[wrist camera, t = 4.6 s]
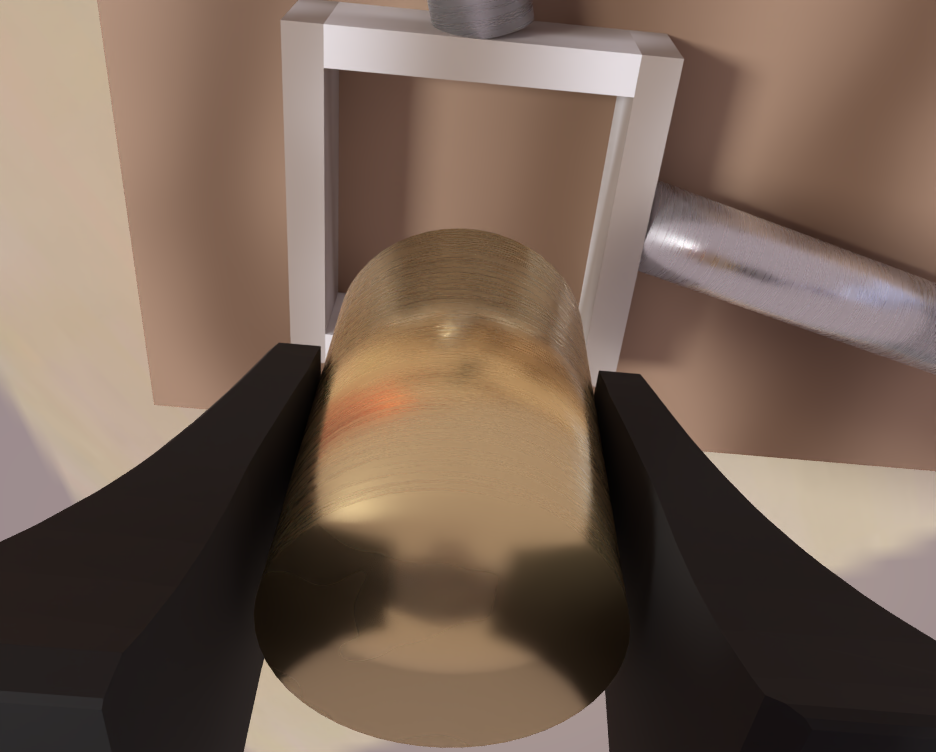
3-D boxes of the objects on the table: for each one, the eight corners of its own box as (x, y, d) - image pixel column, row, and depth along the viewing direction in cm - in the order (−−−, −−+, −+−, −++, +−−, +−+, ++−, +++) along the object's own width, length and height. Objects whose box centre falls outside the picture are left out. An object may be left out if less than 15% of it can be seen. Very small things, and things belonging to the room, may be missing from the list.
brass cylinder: (609, 249, 13) (676, 526, 8) (555, 451, 16) (581, 764, 11) (347, 209, 13) (257, 470, 8) (330, 421, 15) (251, 726, 10)
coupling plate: (1379, -507, 15) (1598, -578, 12) (924, 438, 26) (978, 521, 23) (41, -662, 14) (-77, -777, 11) (171, 374, 25) (128, 451, 22)
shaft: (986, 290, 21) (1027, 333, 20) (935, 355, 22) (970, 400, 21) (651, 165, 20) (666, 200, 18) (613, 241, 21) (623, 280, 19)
